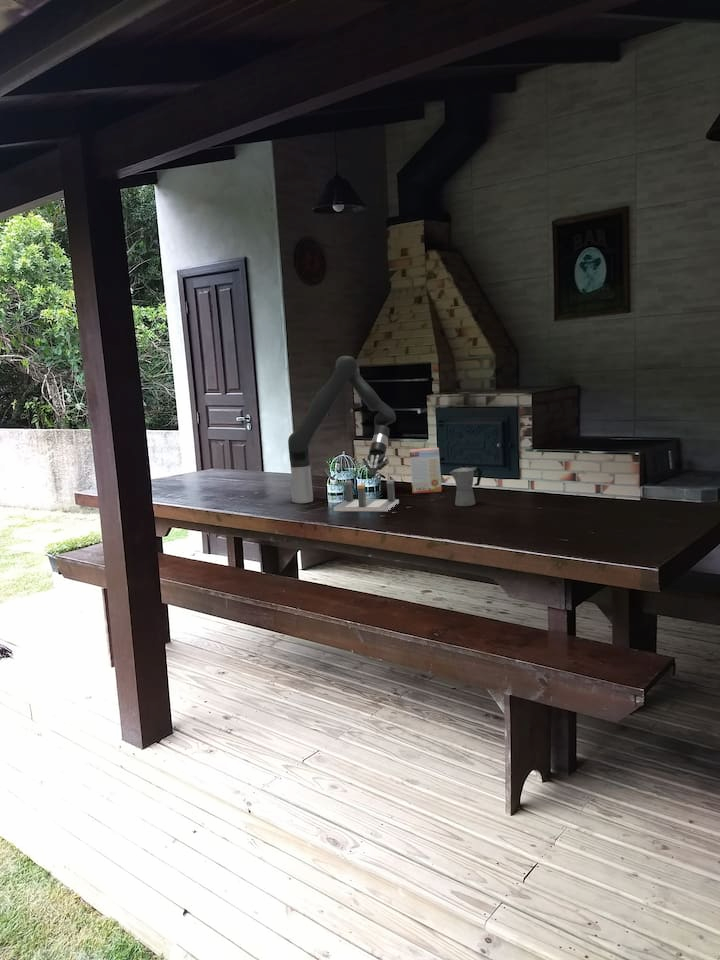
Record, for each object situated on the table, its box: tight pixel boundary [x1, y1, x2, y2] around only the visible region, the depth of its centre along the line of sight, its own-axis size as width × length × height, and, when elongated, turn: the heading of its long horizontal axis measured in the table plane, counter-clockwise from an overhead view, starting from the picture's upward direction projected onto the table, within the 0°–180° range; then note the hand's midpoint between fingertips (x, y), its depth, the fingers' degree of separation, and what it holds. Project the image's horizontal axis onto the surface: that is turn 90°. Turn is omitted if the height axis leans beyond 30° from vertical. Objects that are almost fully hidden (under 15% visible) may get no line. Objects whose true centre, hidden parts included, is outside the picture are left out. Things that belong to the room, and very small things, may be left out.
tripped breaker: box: [356, 483, 367, 506], centre depth 327 cm, size 2×3×9 cm
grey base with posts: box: [333, 479, 400, 512], centre depth 332 cm, size 25×17×11 cm
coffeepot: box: [449, 462, 484, 507], centre depth 323 cm, size 15×9×18 cm, turn 107°
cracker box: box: [409, 447, 443, 494], centre depth 356 cm, size 14×6×21 cm, turn 84°
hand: (371, 476), depth 341 cm, fingers closed
